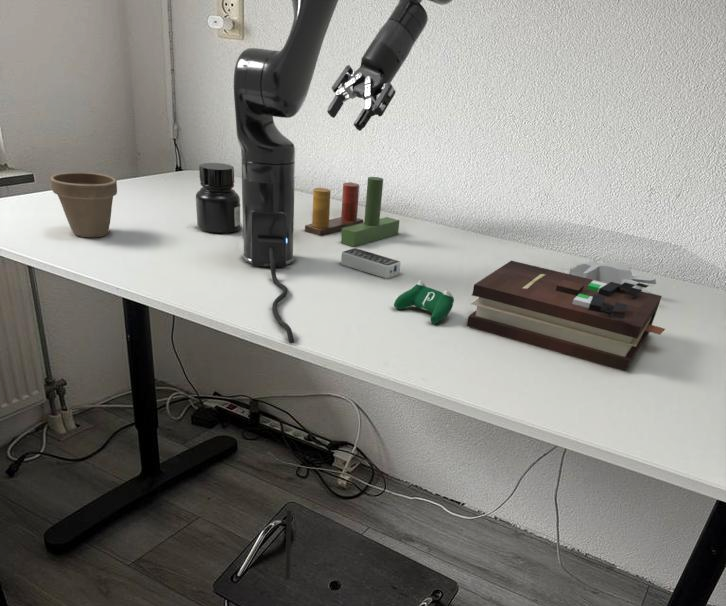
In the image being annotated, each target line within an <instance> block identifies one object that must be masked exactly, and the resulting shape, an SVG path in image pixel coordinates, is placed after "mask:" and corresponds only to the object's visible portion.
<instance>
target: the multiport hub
mask: <svg viewBox="0 0 726 606" xmlns="http://www.w3.org/2000/svg"><path fill="white" fill-rule="evenodd" d="M340 265H342V266H344V267H345V266H346V267H348V268H351V269H355V270H358V271H361V272H364V273H367V274H370V275H373V276H377V277H380V278H382V279H390V278H393V277H396V276H398V275H400V272H401V261H400V260H397V259H394V258H391V257H387V256H383V255H380V254H378V253H373V252H371V251H367V250H363V249H360V248H357V247H353V248H350V249H346V250H344V251H341V260H340Z"/></svg>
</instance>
